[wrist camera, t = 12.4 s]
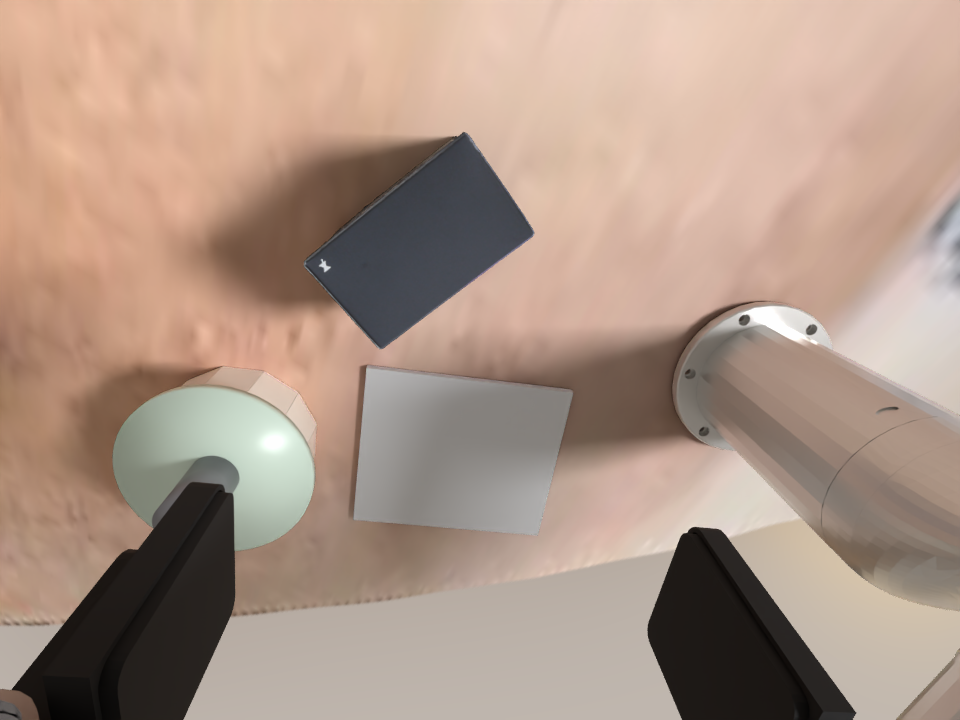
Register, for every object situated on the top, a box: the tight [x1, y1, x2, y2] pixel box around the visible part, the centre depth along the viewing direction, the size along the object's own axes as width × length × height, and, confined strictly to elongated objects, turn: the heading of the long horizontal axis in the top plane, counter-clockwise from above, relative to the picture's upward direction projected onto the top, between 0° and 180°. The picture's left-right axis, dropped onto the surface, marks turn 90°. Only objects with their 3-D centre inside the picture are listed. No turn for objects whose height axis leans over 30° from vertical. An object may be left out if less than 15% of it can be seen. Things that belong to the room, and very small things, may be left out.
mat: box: [353, 365, 573, 536], centre depth 42 cm, size 16×14×1 cm
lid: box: [112, 384, 315, 551], centre depth 33 cm, size 13×13×6 cm
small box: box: [304, 132, 534, 349], centre depth 31 cm, size 11×6×10 cm, turn 127°
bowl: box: [182, 366, 317, 459], centre depth 38 cm, size 11×11×5 cm
